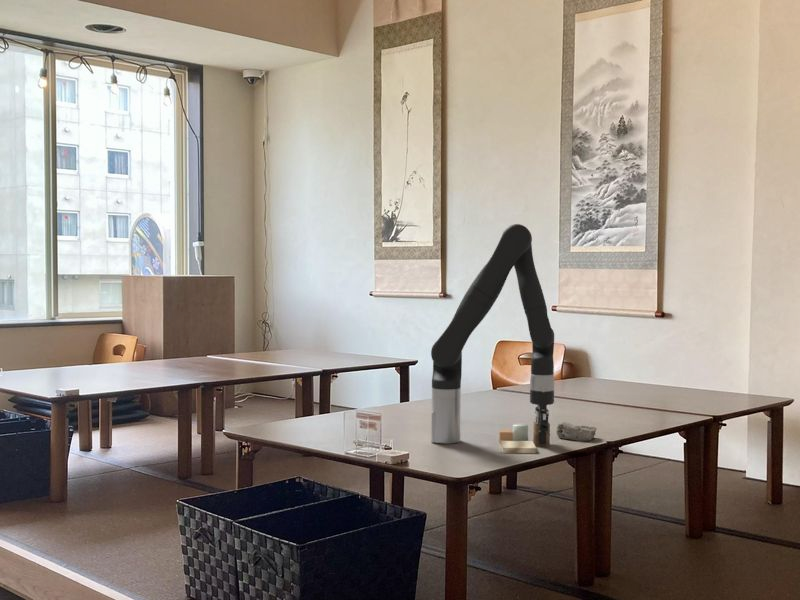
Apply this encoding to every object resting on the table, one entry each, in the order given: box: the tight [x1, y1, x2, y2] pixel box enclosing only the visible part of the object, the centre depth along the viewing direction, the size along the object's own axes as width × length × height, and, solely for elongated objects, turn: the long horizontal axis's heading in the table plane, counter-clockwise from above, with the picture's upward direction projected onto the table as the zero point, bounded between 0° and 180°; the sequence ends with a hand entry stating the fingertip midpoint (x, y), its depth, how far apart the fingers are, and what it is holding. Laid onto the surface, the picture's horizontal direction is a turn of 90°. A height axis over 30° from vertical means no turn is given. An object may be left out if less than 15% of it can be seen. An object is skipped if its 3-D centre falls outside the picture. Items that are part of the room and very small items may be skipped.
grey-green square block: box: [511, 423, 529, 441], centre depth 295 cm, size 5×5×5 cm
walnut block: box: [532, 421, 551, 447], centre depth 288 cm, size 4×4×7 cm
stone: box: [556, 421, 597, 442], centre depth 300 cm, size 13×6×10 cm
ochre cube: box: [498, 429, 513, 444], centre depth 291 cm, size 4×4×4 cm
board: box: [499, 440, 537, 454], centre depth 282 cm, size 10×11×2 cm
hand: (541, 442), depth 288 cm, fingers closed on walnut block, 4 cm apart
